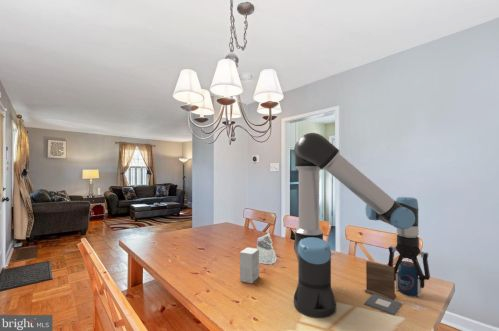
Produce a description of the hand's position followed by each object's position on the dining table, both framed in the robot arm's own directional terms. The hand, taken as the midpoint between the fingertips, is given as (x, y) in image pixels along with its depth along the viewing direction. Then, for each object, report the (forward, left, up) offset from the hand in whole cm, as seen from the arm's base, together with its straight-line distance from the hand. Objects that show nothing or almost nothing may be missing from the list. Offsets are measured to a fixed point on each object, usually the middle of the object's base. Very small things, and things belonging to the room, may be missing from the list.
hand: (408, 291), depth 100 cm
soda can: (0, 0, -1) cm, 1 cm away
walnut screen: (-9, +8, -1) cm, 12 cm away
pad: (-17, +5, -1) cm, 17 cm away
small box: (-35, +56, -1) cm, 66 cm away
